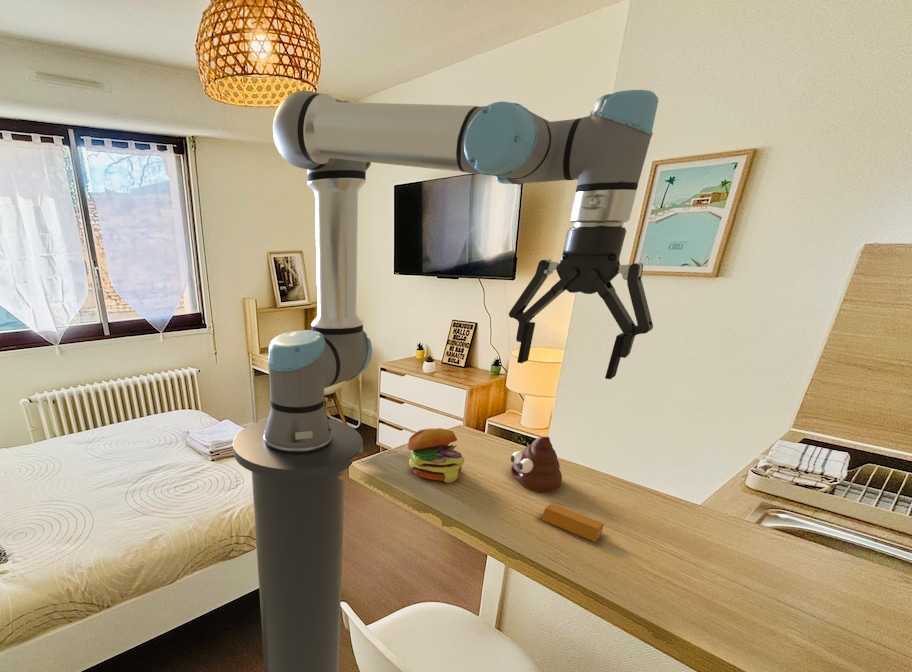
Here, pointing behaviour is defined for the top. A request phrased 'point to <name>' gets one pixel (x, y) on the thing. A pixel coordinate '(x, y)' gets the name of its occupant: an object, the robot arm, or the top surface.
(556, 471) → the poop emoji
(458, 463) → the cheeseburger
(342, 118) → the robot arm
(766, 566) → the top surface
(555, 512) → the ochre stick
